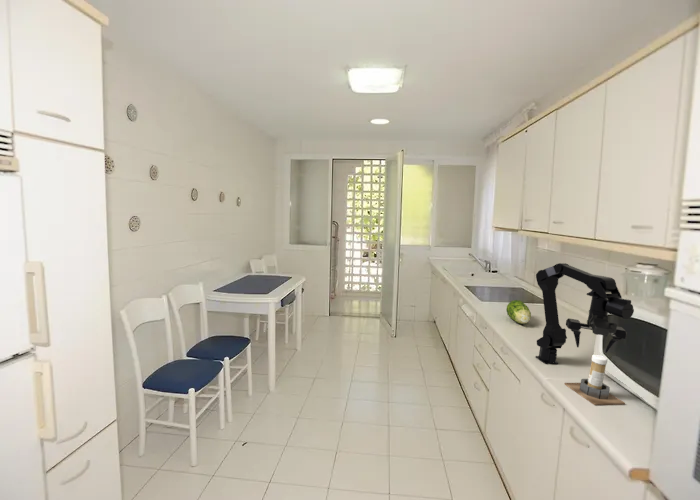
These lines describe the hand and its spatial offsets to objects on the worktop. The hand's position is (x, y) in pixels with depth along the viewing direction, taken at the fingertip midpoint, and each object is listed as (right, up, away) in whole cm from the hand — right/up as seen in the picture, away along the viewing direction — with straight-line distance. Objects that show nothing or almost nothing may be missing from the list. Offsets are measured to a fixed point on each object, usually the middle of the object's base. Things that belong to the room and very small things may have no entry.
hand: (591, 349), depth 141 cm
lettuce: (+4, -4, +70) cm, 71 cm away
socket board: (-4, -14, -8) cm, 16 cm away
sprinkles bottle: (-4, -13, -8) cm, 16 cm away
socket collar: (-4, -14, -8) cm, 16 cm away
